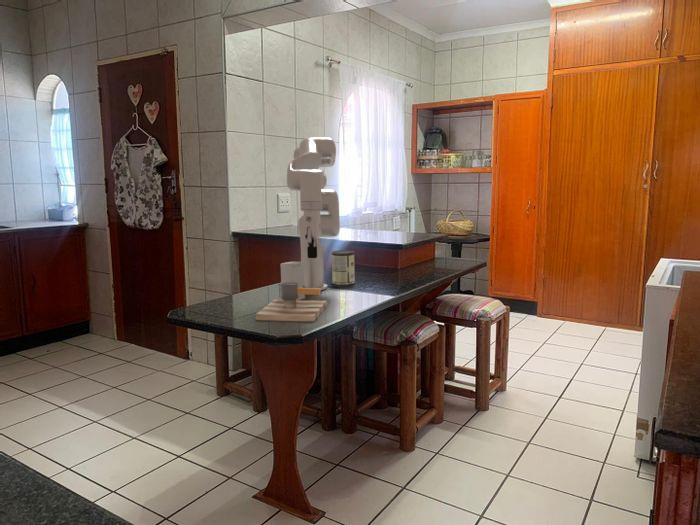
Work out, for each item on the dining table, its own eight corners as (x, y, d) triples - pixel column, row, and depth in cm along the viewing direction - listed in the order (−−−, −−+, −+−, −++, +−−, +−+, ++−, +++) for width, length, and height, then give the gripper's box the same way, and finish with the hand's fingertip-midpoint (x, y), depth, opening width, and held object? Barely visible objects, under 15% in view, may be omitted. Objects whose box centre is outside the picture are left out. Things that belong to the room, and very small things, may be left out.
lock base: (274, 304, 204) (274, 291, 203) (326, 306, 201) (326, 292, 200) (255, 320, 182) (255, 305, 181) (314, 321, 179) (313, 306, 178)
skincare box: (293, 302, 207) (292, 264, 204) (280, 301, 210) (279, 263, 207) (305, 298, 214) (304, 261, 212) (293, 296, 217) (292, 260, 214)
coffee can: (333, 280, 250) (333, 250, 248) (355, 280, 249) (355, 250, 247) (330, 284, 240) (330, 253, 238) (353, 284, 239) (353, 253, 237)
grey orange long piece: (278, 299, 188) (278, 285, 188) (284, 295, 194) (284, 282, 193) (317, 301, 185) (317, 286, 185) (322, 297, 191) (322, 283, 190)
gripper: (318, 208, 182) (319, 261, 186) (325, 204, 197) (326, 254, 200) (296, 208, 183) (297, 261, 186) (304, 204, 198) (306, 254, 201)
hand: (312, 257), depth 193 cm, fingers closed
